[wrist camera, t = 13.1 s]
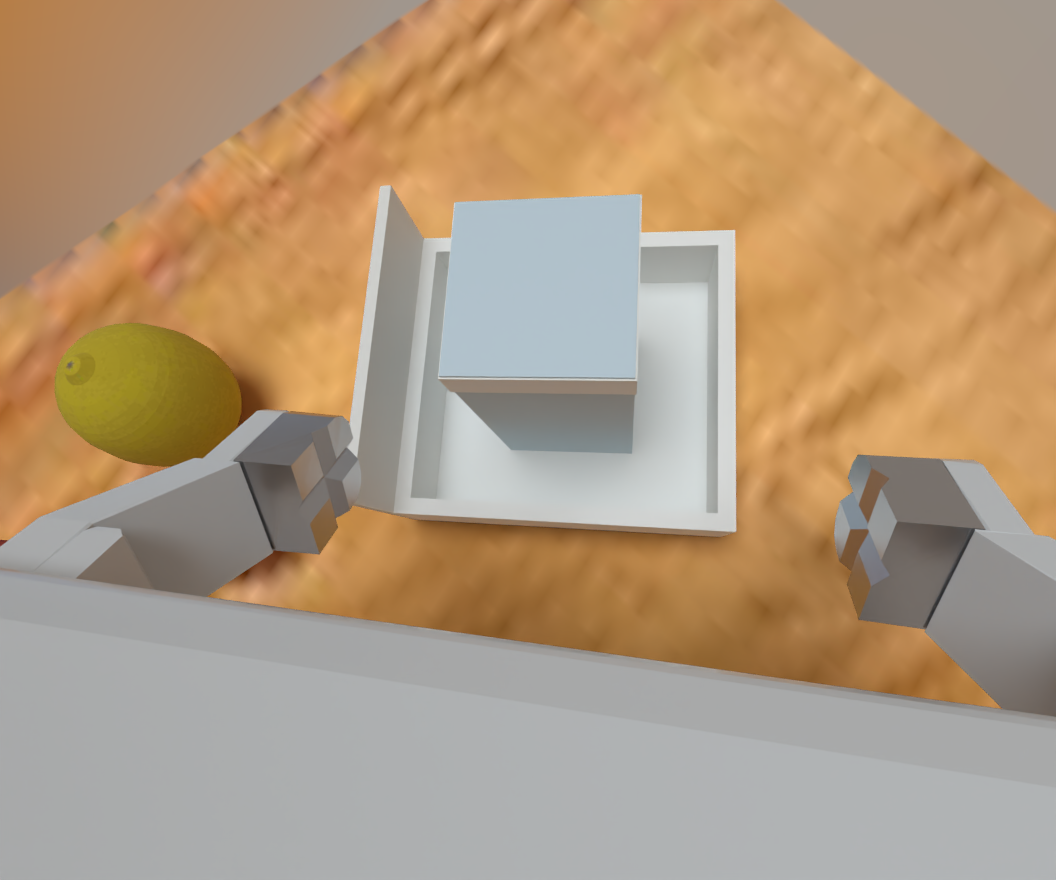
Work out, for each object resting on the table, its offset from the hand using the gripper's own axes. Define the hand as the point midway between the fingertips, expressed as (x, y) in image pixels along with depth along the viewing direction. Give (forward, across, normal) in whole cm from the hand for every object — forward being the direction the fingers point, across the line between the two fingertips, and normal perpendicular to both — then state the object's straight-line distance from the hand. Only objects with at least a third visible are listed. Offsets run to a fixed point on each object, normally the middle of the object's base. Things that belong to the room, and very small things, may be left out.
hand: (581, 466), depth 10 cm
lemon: (+13, +18, +8) cm, 24 cm away
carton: (+14, +2, +6) cm, 16 cm away
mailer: (+14, +2, +7) cm, 16 cm away
